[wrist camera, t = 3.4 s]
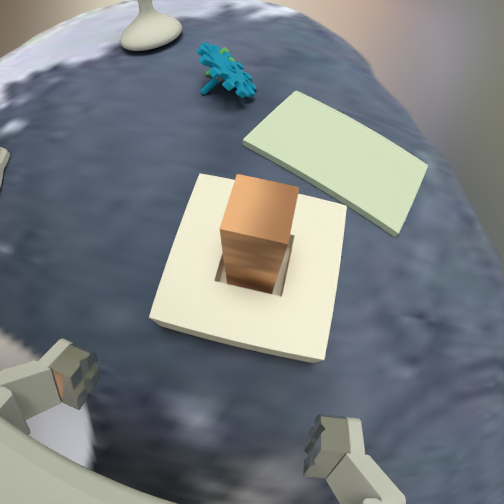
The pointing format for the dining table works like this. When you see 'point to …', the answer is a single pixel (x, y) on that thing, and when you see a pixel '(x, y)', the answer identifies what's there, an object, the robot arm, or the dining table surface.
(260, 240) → the peg
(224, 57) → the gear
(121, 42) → the flower in vase
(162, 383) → the dining table surface
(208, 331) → the socket block
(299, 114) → the mat
